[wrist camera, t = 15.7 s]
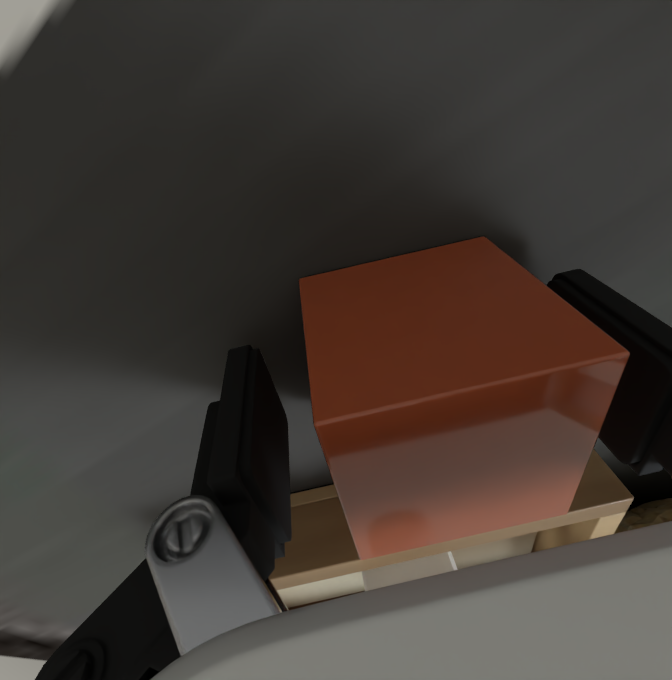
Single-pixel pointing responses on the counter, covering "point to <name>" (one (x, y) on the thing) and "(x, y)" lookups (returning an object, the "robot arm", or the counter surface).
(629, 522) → the sponge
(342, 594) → the tray
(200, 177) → the counter surface
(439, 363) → the clay block
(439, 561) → the salt shaker
